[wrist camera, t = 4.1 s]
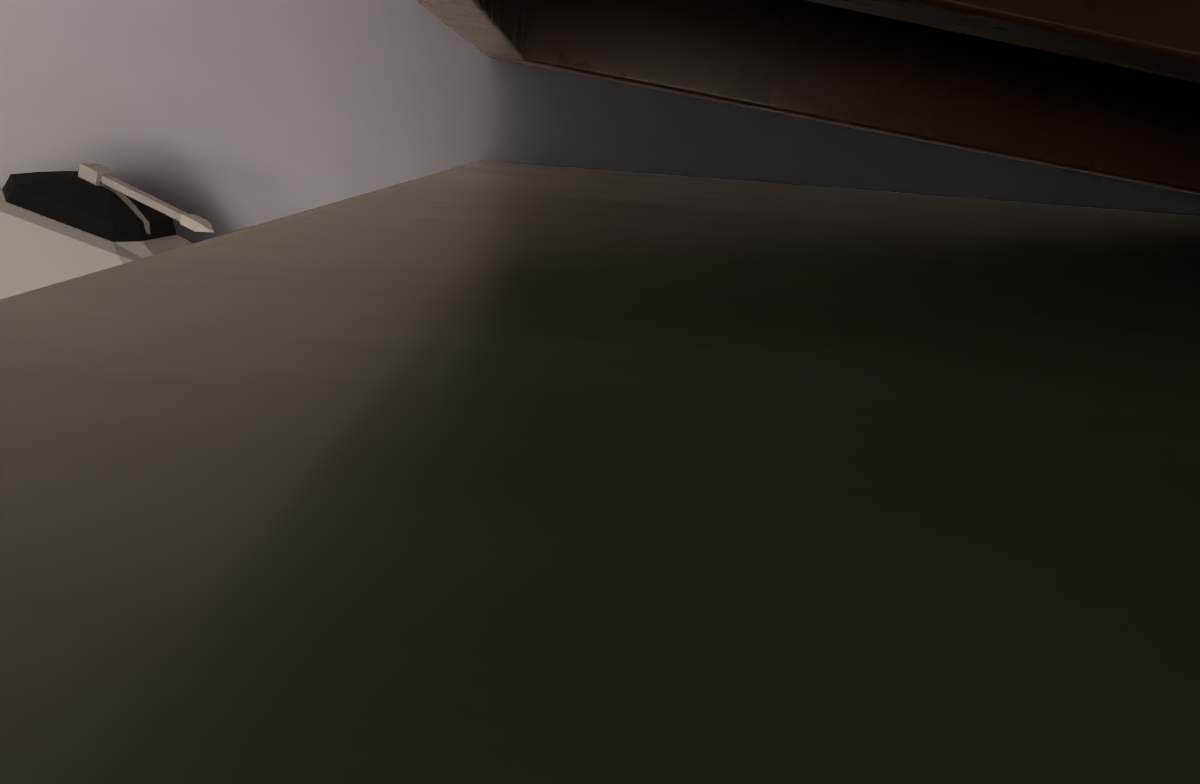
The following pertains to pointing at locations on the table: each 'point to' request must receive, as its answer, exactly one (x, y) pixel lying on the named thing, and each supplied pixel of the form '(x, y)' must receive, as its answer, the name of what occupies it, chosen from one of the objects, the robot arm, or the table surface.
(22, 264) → the robot toy
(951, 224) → the cupboard door
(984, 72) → the cupboard
